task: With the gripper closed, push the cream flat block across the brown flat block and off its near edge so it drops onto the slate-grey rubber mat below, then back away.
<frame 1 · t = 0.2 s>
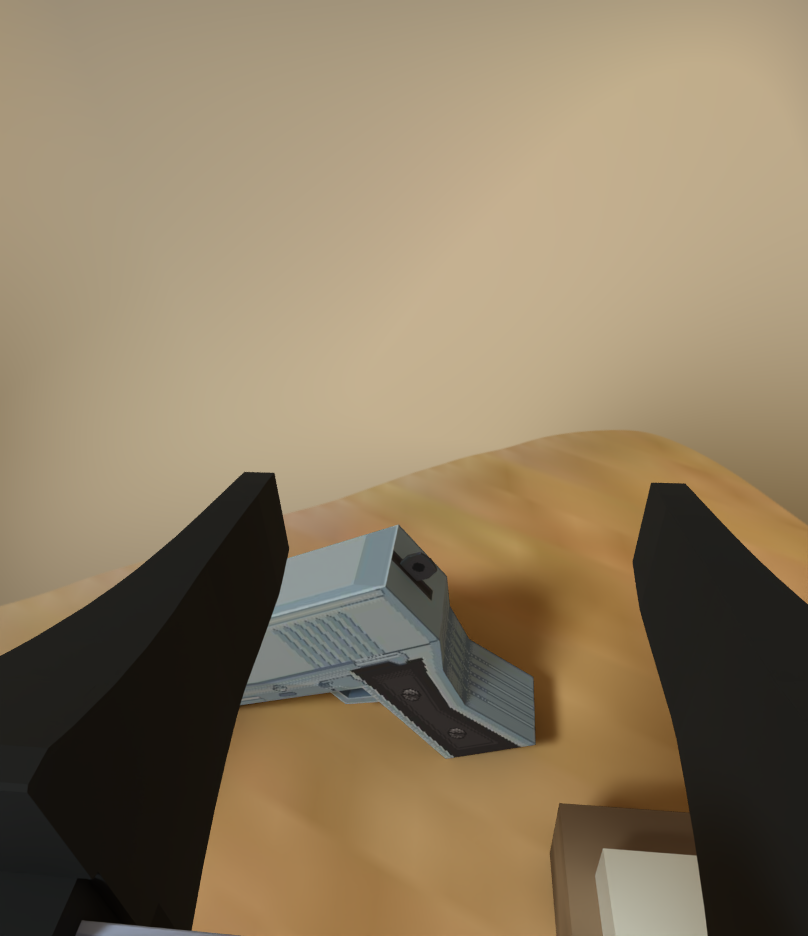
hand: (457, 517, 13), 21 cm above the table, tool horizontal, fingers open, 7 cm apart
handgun: (321, 715, 34), on the table
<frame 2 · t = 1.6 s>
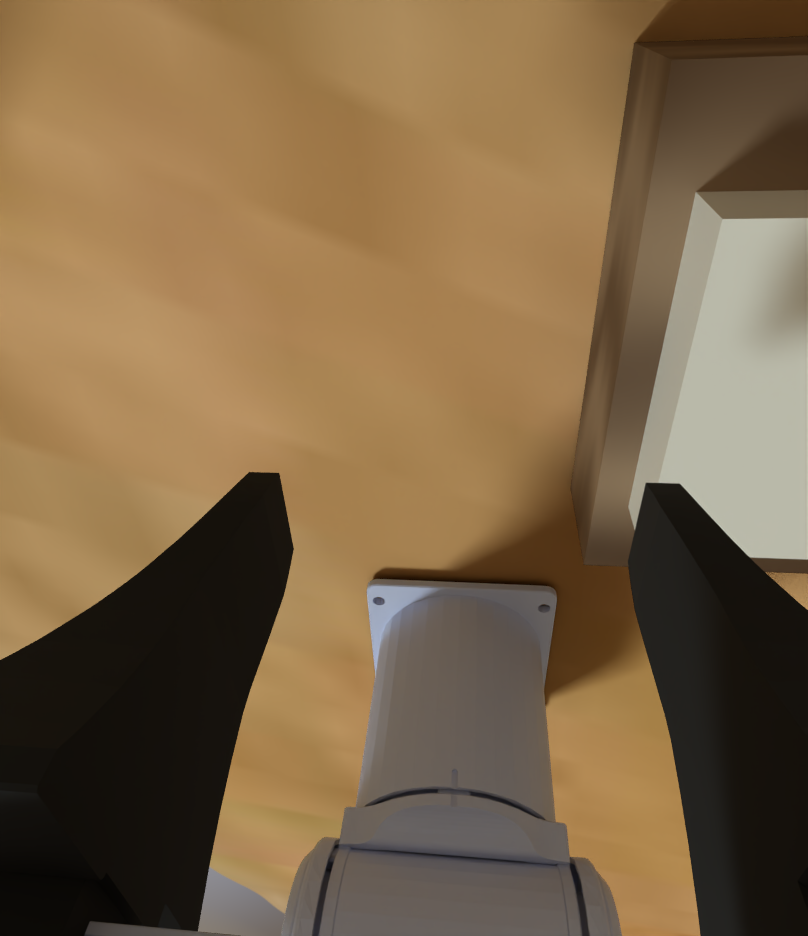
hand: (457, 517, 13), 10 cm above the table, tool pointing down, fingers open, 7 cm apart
brown flat block: (765, 311, 20), on the table
cream flat block: (778, 375, 17), point 4 cm above the table, touching brown flat block
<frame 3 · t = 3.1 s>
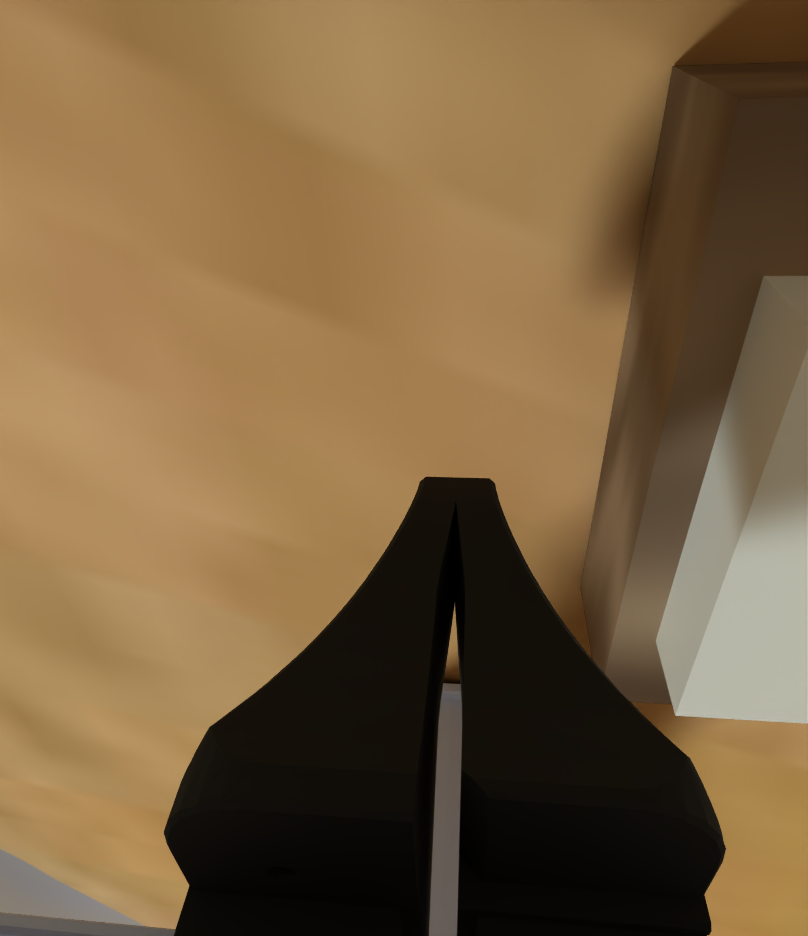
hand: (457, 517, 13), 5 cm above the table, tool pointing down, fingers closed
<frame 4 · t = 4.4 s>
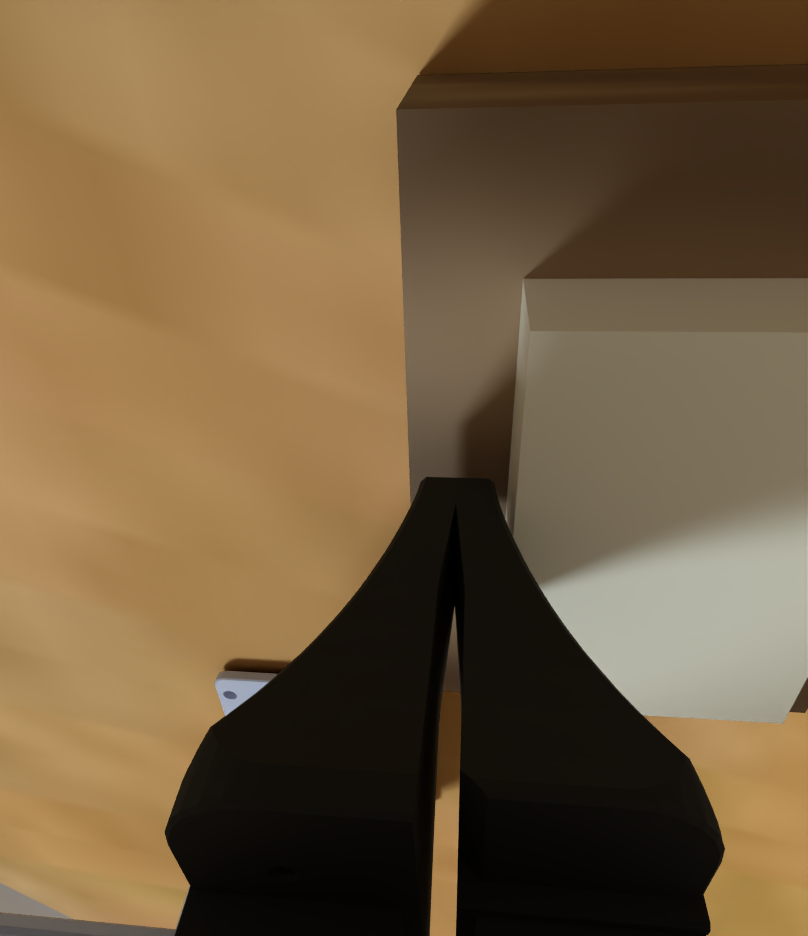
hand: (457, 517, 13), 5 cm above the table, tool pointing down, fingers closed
brown flat block: (623, 394, 16), on the table
cream flat block: (658, 496, 13), point 4 cm above the table
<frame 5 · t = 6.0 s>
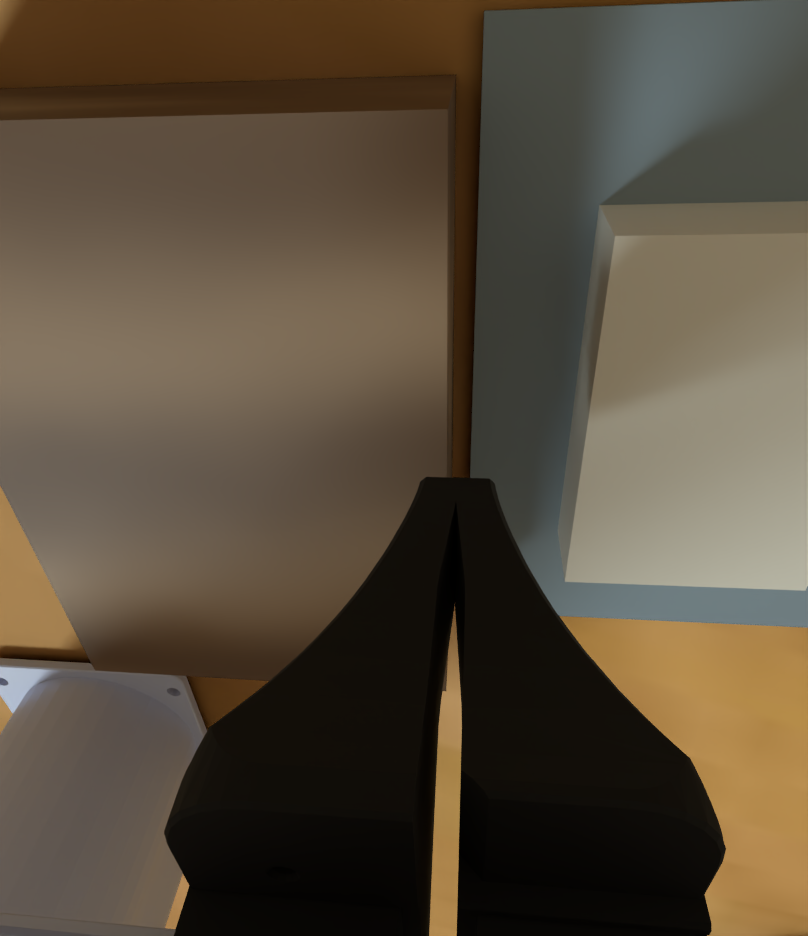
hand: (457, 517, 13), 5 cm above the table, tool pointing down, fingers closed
brown flat block: (262, 388, 17), on the table
mat: (738, 395, 16), on the table
cream flat block: (726, 442, 14), point 2 cm above the table, tilted 180°, touching mat
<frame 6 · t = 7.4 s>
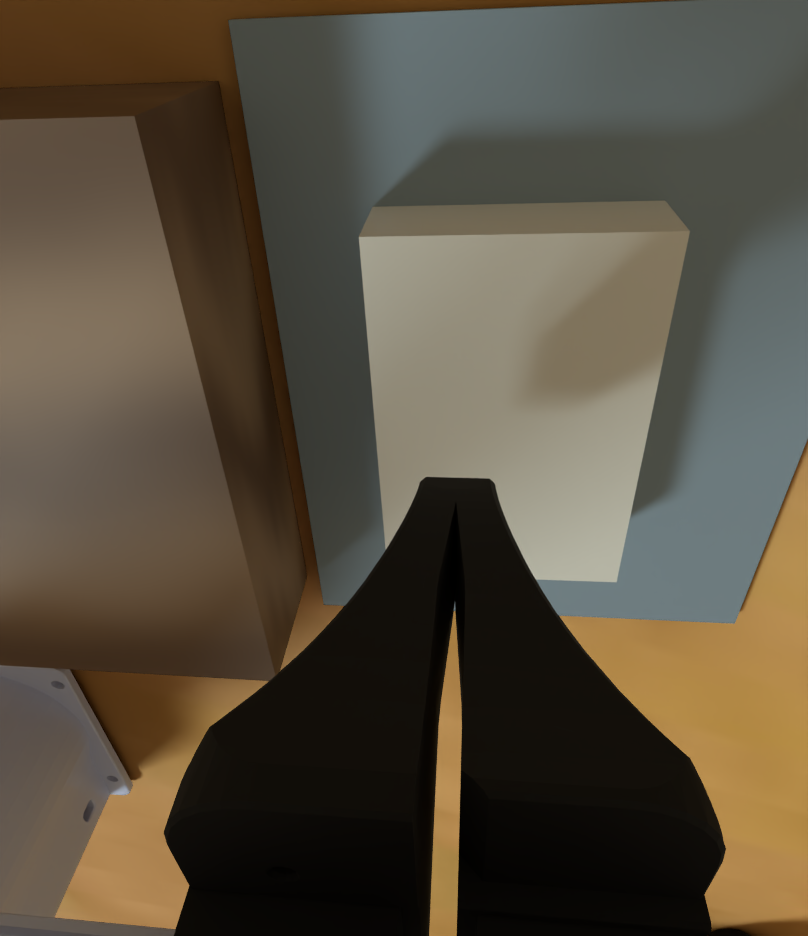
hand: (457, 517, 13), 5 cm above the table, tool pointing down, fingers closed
brown flat block: (92, 385, 18), on the table
mat: (544, 392, 17), on the table
cream flat block: (508, 437, 15), point 2 cm above the table, tilted 180°, touching mat
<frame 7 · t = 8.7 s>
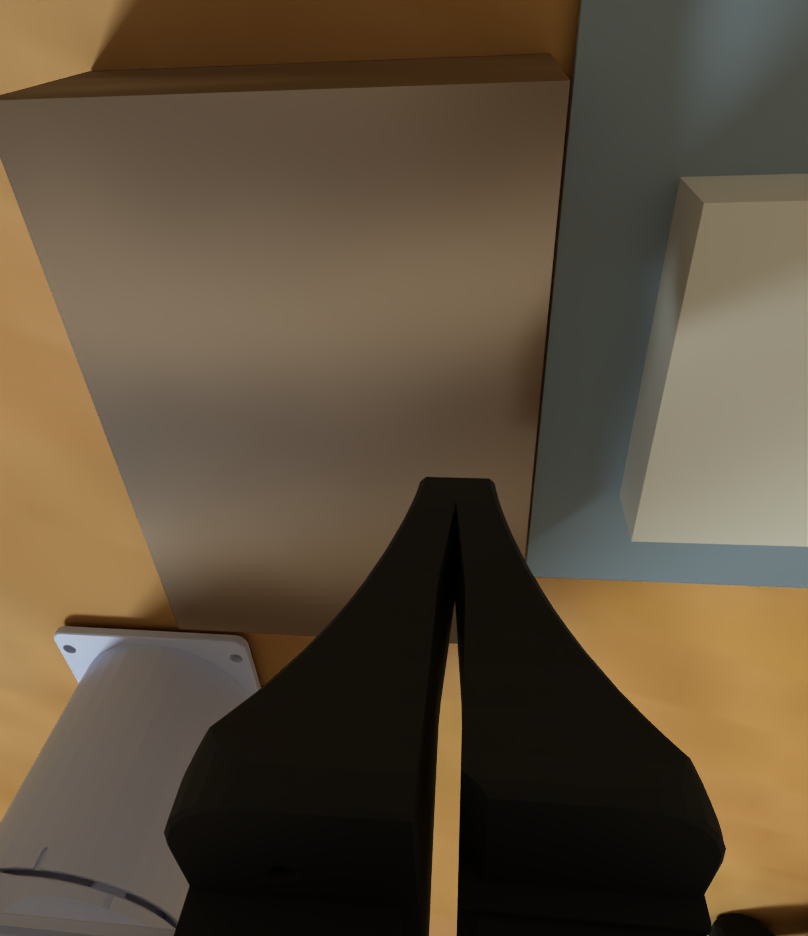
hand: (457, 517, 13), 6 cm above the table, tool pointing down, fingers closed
brown flat block: (343, 358, 18), on the table
mat: (801, 361, 17), on the table
cream flat block: (796, 402, 15), point 2 cm above the table, tilted 180°, touching mat
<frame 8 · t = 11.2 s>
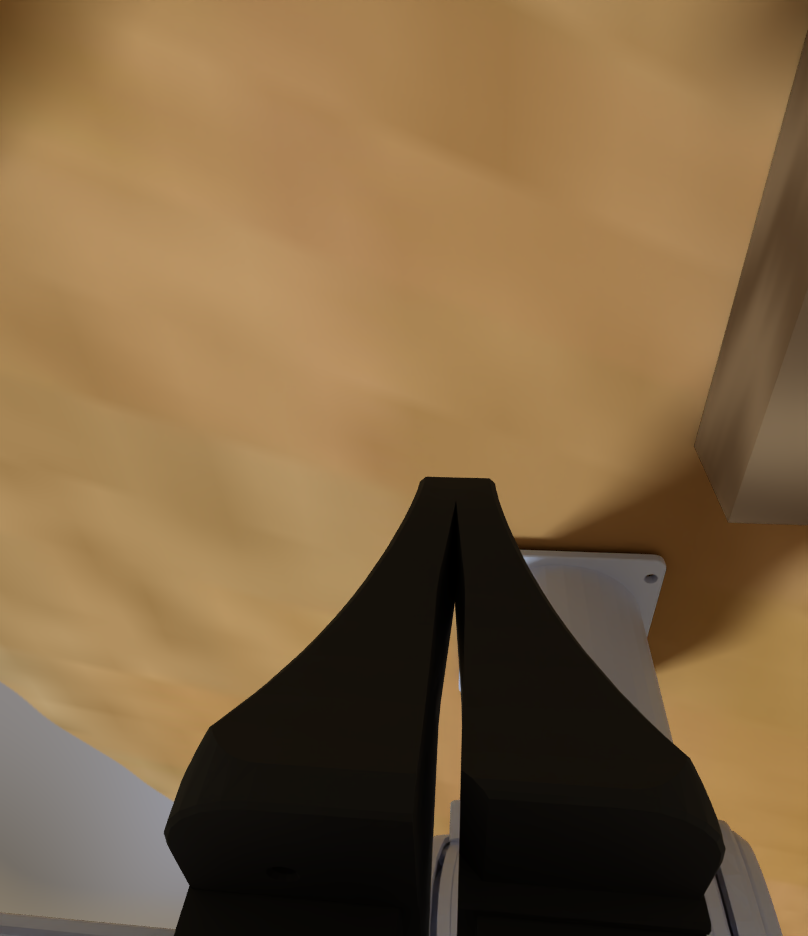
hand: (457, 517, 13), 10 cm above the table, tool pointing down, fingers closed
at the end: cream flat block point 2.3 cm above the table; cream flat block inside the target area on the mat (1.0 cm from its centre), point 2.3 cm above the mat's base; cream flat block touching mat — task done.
